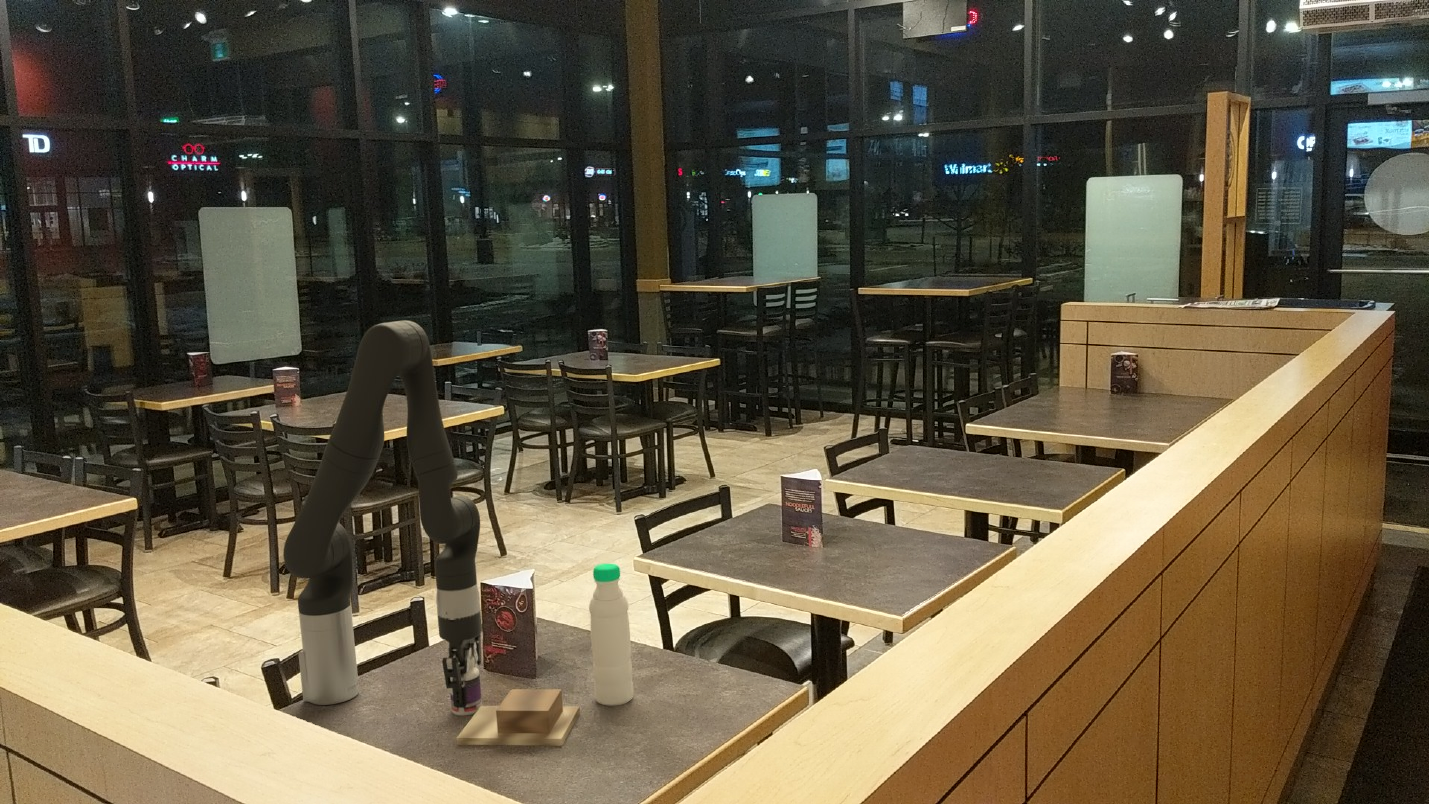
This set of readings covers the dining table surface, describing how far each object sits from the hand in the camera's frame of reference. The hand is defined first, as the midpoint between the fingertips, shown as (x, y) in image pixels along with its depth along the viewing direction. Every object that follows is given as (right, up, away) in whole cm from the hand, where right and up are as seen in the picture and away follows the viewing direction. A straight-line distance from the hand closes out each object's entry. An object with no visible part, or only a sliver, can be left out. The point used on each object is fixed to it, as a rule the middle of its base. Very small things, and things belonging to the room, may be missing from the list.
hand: (466, 699), depth 207 cm
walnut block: (+13, -2, -9) cm, 16 cm away
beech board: (+11, -3, -8) cm, 14 cm away
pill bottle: (0, -2, 0) cm, 2 cm away
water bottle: (+26, -1, +2) cm, 27 cm away
